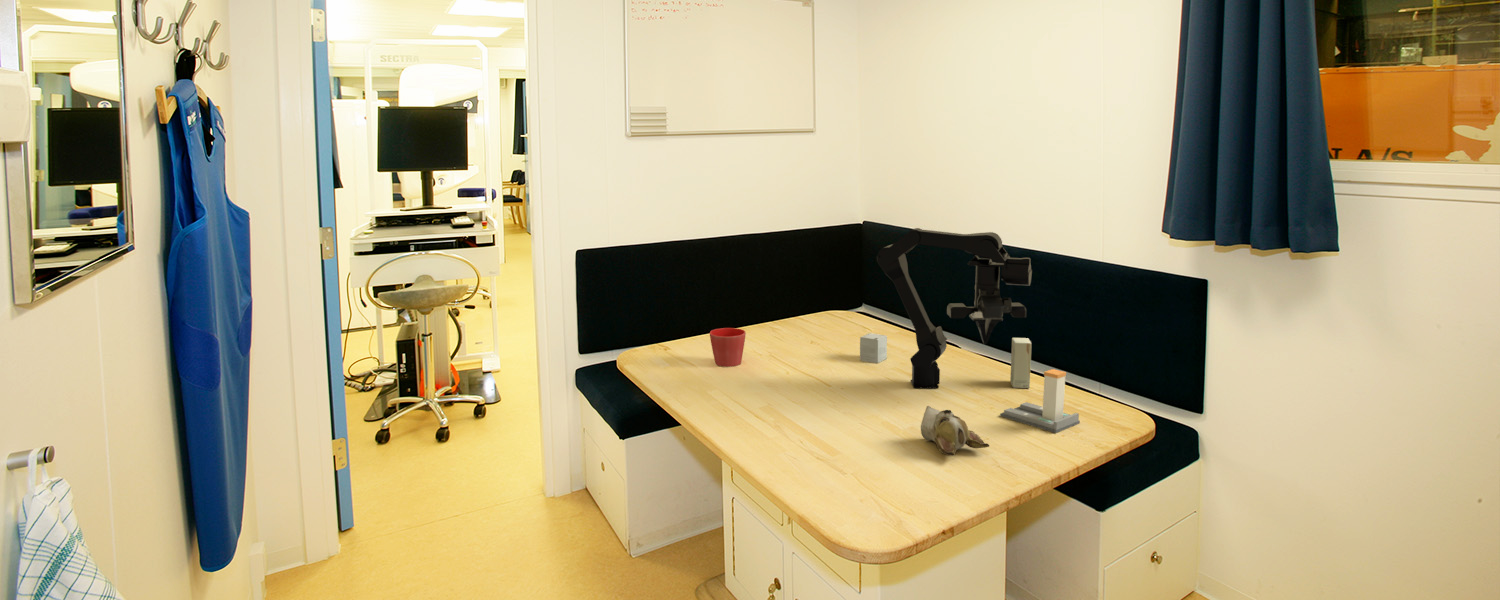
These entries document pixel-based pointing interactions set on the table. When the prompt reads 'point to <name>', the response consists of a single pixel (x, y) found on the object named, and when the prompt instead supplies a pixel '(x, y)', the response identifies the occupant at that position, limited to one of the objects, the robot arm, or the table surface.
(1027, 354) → the skincare box
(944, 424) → the ceramic sculpture
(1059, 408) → the fader knob
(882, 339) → the skincare box
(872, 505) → the table surface
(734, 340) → the flower pot
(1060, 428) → the console
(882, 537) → the table surface
